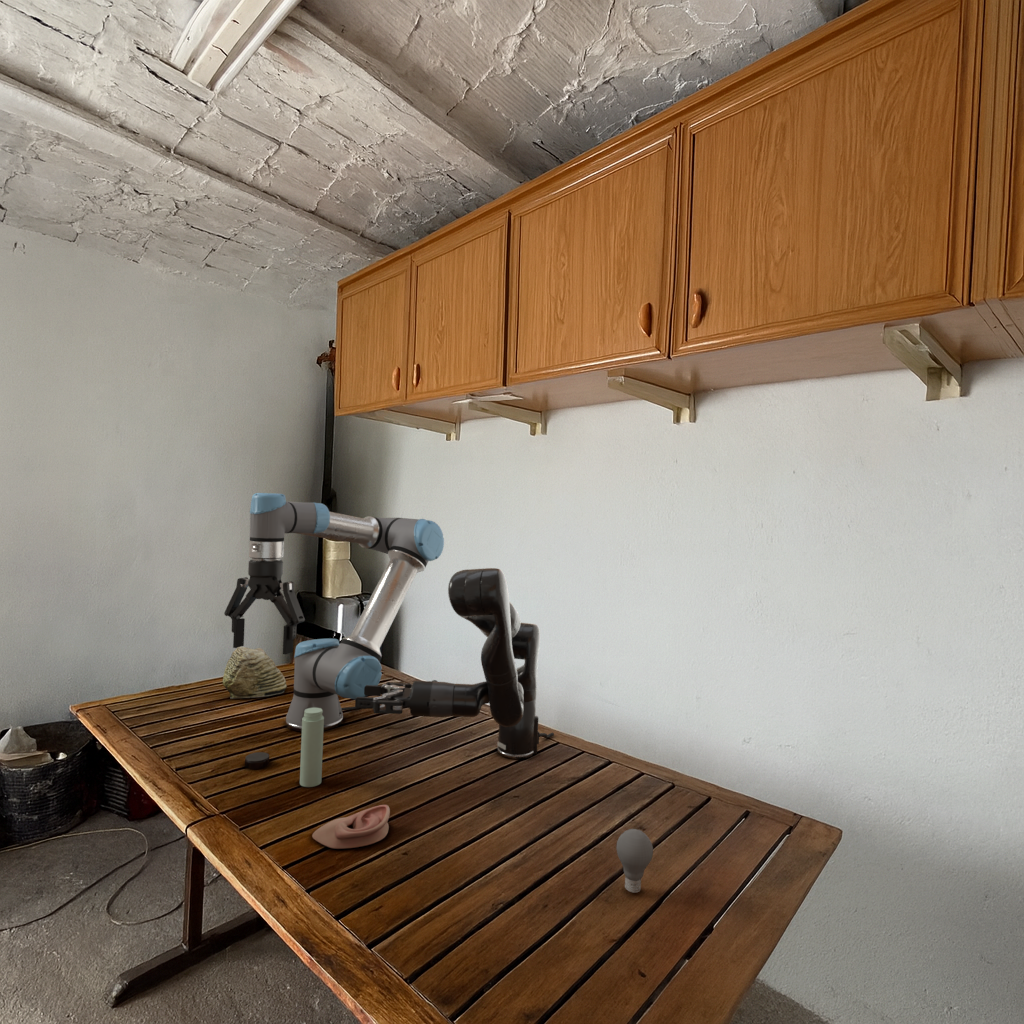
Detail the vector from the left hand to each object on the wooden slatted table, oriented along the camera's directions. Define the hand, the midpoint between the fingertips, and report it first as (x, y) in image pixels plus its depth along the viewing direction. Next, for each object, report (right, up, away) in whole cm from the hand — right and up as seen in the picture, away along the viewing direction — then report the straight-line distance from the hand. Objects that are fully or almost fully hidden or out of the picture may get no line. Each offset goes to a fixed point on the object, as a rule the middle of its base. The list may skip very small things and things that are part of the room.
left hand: (262, 650), depth 148 cm
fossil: (-22, -25, +50) cm, 60 cm away
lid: (-1, -25, 0) cm, 25 cm away
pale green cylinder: (+14, -28, -8) cm, 32 cm away
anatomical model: (+28, -29, -28) cm, 49 cm away
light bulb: (+78, -31, -42) cm, 94 cm away
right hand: (+25, -9, -8) cm, 27 cm away
